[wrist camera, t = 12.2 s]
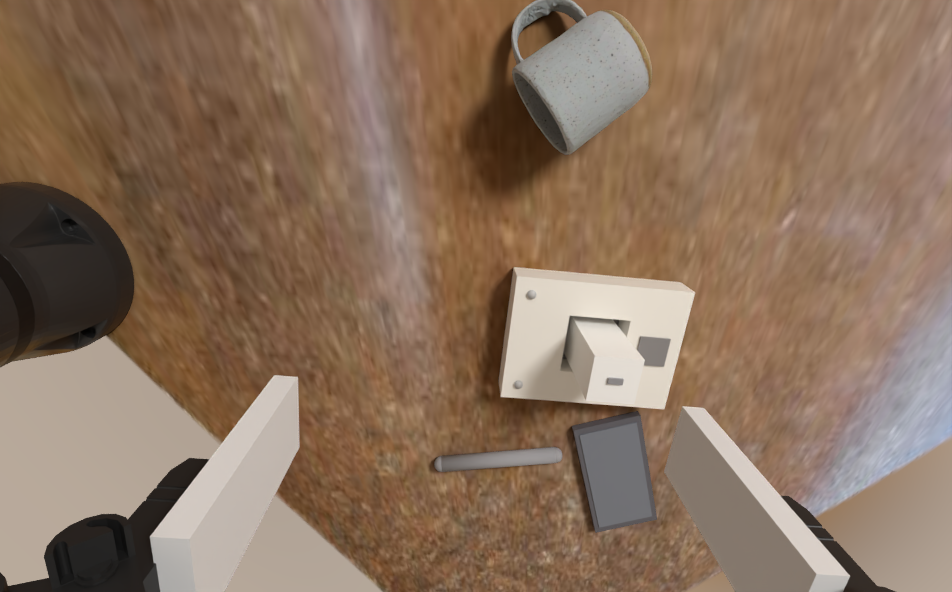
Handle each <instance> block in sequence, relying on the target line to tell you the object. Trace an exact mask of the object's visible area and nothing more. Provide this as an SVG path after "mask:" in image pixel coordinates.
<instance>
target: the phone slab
mask: <svg viewBox="0 0 952 592" xmlns="http://www.w3.org/2000/svg"><path fill="white" fill-rule="evenodd" d="M572 429H573V434H574V438H575V443H576V448H577V452H578V457H579V461H580V466H581V471H582V475H583V480H584V484H585V489H586V494H587V498H588V503H589V507H590V512H591V517H592V521H593V526H594V529H595V532H601V531H606V530H610V529H615V528H619V527H624V526H629V525H633V524H638V523H643V522H647V521H652V520H656V519H657V516H656V510H655V504H654V498H653V491H652V485H651V479H650V473H649V466H648V460H647V454H646V448H645V441H644V435H643V429H642V423H641V417H640V414H639V412H638V411H636V412H631V413H627V414H623V415H618V416H614V417H609V418H605V419H601V420H596V421H592V422H588V423H583V424H579V425H575V426H572Z"/></svg>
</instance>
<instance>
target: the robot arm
mask: <svg viewBox="0 0 952 592" xmlns="http://www.w3.org/2000/svg"><path fill="white" fill-rule="evenodd" d="M133 293H134V277H133V271H132V266H131V263H130V260H129V257H128V254H127V252H126V250H125V248H124V246H123V244H122V242H121V241H120V239H119V237H118V236H117V234H116V233H115V232H114V230H113V229H112V228H111V227H110V225H109V224H108V223H107V222H106V221H105V220H104V219H103V218H102V217H101V216H100V215H99V214H98V213H97V212H96V211H94V210H93V209H92V208H91V207H89V206H88V205H86V204H85V203H84V202H82V201H80V200H79V199H77V198H75V197H74V196H72V195H70V194H68V193H66V192H63V191H61V190H59V189H56V188H53V187H50V186H46V185H42V184H37V183H29V182H13V183H4V184H0V367H2V366H4V365H5V364H8V363H10V362H12V361H18V360H23V359H30V358H36V357H41V356H48V355H54V354H59V353H65V352H70V351H74V350H77V349H79V348H82V347H85V346H87V345H89V344H91V343H93V342H95V341H96V340H98V339H100V338H102V337H103V336H105V335H107V334H108V333H110V332H111V331H113V330H114V329H115V328H116V327H117V326H118V325H119V324H120V323H121V322H122V321H123V319H124V318H125V316H126V315H127V313H128V311H129V309H130V306H131V303H132V299H133ZM298 449H299V404H298V377H290V376H277V375H274V376H273V378H272V379H271V380H270V382H269V383H268V384H267V385H266V387H265V388H264V389H263V391H262V392H261V393H260V395H259V396H258V397H257V398H256V400H255V401H254V402H253V404H252V405H251V406H250V408H249V409H248V410H247V411H246V413H245V414H244V415H243V417H242V418H241V419H240V420H239V422H238V423H237V424H236V426H235V427H234V428H233V430H232V431H231V432H230V433H229V435H228V436H227V437H226V439H225V440H224V441H223V443H222V444H221V445H220V446H219V448H218V449H217V450H216V452H215V453H214V454H213V456H212V457H211V458H210V459H195V458H189V459H187V460H186V461H184V462H183V463H181V464H180V465H178V466H176V467H175V468H173V469H172V470H170V472H168V474H167V475H166V476H165V477H164V478H163V479H162V481H161V482H160V483H159V484H158V485H157V488H156V489H154V490H153V491H152V492H151V493H150V495H149V496H148V497H147V499H146V501H144V502H143V503H142V504H141V505H140V506H139V507H138V508H137V510H136V511H135V512H134V513H133V514H132V515H131V517H130V518H129V519H128V520H127V518H126V517H123V516H120V515H117V514H101V515H97V516H93V517H89V518H85V519H83V520H81V521H79V522H77V523H74V524H72V525H70V526H69V527H67V528H66V529H64V530H63V531H62V532H60V533H59V534H57V535H56V536H55V537H54V538H53V540H52V541H51V542H50V543H49V545H48V546H47V548H46V552H45V555H44V559H45V562H46V566H47V571H48V575H49V578H47V579H42V580H37V581H32V582H27V583H22V584H17V585H12V586H8V585H7V582H6V579H5V577H4V576H3V575H2V574H1V573H0V592H225V590H226V588H227V586H228V584H229V582H230V580H231V578H232V577H233V575H234V573H235V571H236V569H237V567H238V565H239V563H240V561H241V559H242V557H243V555H244V553H245V551H246V549H247V547H248V546H249V543H250V541H251V540H252V538H253V536H254V534H255V532H256V530H257V528H258V526H259V524H260V522H261V520H262V518H263V516H264V515H265V513H266V511H267V509H268V507H269V505H270V503H271V501H272V499H273V497H274V495H275V493H276V491H277V489H278V487H279V486H280V484H281V482H282V480H283V478H284V476H285V474H286V472H287V470H288V468H289V466H290V464H291V462H292V460H293V458H294V456H295V455H296V453H297V451H298ZM664 472H665V474H666V476H667V477H668V479H669V481H670V482H671V484H672V486H673V487H674V489H675V491H676V492H677V494H678V496H679V498H680V499H681V501H682V503H683V504H684V506H685V508H686V509H687V511H688V513H689V514H690V516H691V518H692V519H693V521H694V523H695V525H696V526H697V528H698V530H699V531H700V533H701V535H702V536H703V538H704V540H705V541H706V543H707V545H708V546H709V548H710V550H711V552H712V553H713V555H714V557H715V558H716V560H717V562H718V563H719V565H720V567H721V568H722V570H723V572H724V573H725V575H726V577H727V579H728V580H729V582H730V584H731V585H732V587H733V589H734V590H735V592H895V591H893V590H890V589H888V588H885V587H879V586H877V585H876V584H875V583H874V582H873V581H872V580H871V579H870V578H869V577H868V576H867V575H866V574H865V572H864V571H863V570H862V569H861V568H860V567H859V566H858V565H857V563H856V562H855V561H854V560H853V559H852V558H851V557H850V556H849V555H848V554H847V553H846V552H845V551H844V549H843V548H842V547H841V546H840V545H839V544H838V543H837V542H836V541H834V540H833V537H832V536H831V535H830V534H829V533H828V532H827V531H826V529H823V528H822V525H821V524H820V523H819V522H818V521H817V520H816V518H815V517H814V516H813V515H812V514H811V513H810V512H809V511H808V510H807V509H806V508H804V507H803V506H801V505H800V504H799V503H797V502H796V501H795V500H793V499H792V498H790V497H789V496H780V495H779V494H778V493H777V491H776V490H775V489H774V488H773V487H772V486H771V485H770V483H769V482H768V481H767V480H766V479H765V478H764V477H763V475H762V474H761V473H760V472H759V471H758V470H757V469H756V467H755V466H754V465H753V464H752V463H751V462H750V461H749V459H748V458H747V457H746V456H745V455H744V454H743V452H742V451H741V450H740V449H739V448H738V447H737V446H736V444H735V443H734V442H733V441H732V440H731V439H730V438H729V436H728V435H727V434H726V433H725V432H724V431H723V430H722V428H721V427H720V426H719V425H718V424H717V423H716V421H715V420H714V419H713V418H712V417H711V416H710V415H709V413H708V412H707V411H706V410H705V409H704V408H697V407H684V406H682V410H681V413H680V417H679V420H678V424H677V428H676V431H675V435H674V438H673V442H672V446H671V449H670V453H669V456H668V460H667V464H666V467H665V471H664Z"/></svg>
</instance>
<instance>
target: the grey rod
mask: <svg viewBox="0 0 952 592" xmlns="http://www.w3.org/2000/svg"><path fill="white" fill-rule="evenodd" d="M561 459H562V452H561V450H560V449H559V448H557V447H549V448H536V449H524V450H511V451H498V452H485V453H473V454H460V455H447V456H439V457H438V458H436V460H435V463H434V466H435V468H436V470H438V471H439V472H447V471H460V470H473V469H485V468H498V467H511V466H524V465H536V464H549V463H558V462H559V461H560V460H561Z"/></svg>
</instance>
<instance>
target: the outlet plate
mask: <svg viewBox="0 0 952 592" xmlns="http://www.w3.org/2000/svg"><path fill="white" fill-rule="evenodd" d="M694 295H695V292H694V291H692V290H691V289H689V288H688V287H687V286H685V285H684V284H682V283H681V282H671V281H660V280H649V279H639V278H628V277H617V276H606V275H595V274H584V273H573V272H562V271H551V270H541V269H530V268H519V267H514V268H513V275H512V283H511V290H510V298H509V305H508V313H507V321H506V328H505V336H504V343H503V351H502V358H501V366H500V373H499V388H500V395H501V397H510V398H523V399H536V400H549V401H563V402H576V403H589V404H602V405H615V406H629V407H642V408H655V409H664V408H665V405H666V401H667V397H668V393H669V389H670V386H671V382H672V378H673V374H674V371H675V367H676V363H677V359H678V355H679V352H680V348H681V344H682V340H683V337H684V333H685V329H686V325H687V321H688V318H689V314H690V310H691V306H692V302H693V299H694ZM570 316H581V317H592V318H604V319H613V321H614V322H615V323H616V324H617V326H618V327H619V328H620V329H621V331H622V332H623V333H624V334H625V336H626V337H627V338H628V340H629V341H630V342H631V343H632V345H633V346H634V347H635V348H636V350H637V351H638V352H639V353H640V355H641V356H642V357H643V358H644V360H645V362H644V366H643V370H642V374H641V378H640V382H639V387H638V391H637V395H636V399H635V403H634V404H623V403H610V402H597V401H586V400H585V398H584V395H583V393H582V391H581V389H580V387H579V385H578V382H577V380H576V378H575V376H574V374H573V371H572V369H571V367H570V365H569V363H568V361H567V358H566V356H565V354H564V346H565V341H566V335H567V330H568V324H569V318H570Z"/></svg>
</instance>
